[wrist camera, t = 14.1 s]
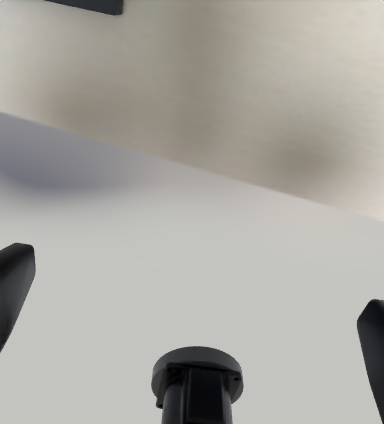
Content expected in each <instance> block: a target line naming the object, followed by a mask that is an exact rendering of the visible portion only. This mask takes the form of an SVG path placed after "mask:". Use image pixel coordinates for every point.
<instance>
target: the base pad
mask: <svg viewBox="0 0 384 424" xmlns="http://www.w3.org/2000/svg"><path fill="white" fill-rule="evenodd" d="M45 1H50V2H54V3H59V4H64V5H68V6H73V7H78V8H82V9H87V10H91V11H96V12H101V13H105V14H110V15H120V14H122V8H123V0H45Z"/></svg>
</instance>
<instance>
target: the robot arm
mask: <svg viewBox="0 0 384 424" xmlns="http://www.w3.org/2000/svg"><path fill="white" fill-rule="evenodd" d="M35 271H36V270H35V256H34V248H33V246H31V245H28V244H22V243H14V244H12V245H10V246H8V247H6V248H4V249H2V250H0V352H1V351H2V349H3V347H4V345H5V343H6V342H7V340H8V338H9V336H10V334H11V332H12V329H13V327H14V325H15V323H16V320H17V318H18V315H19V313H20V311H21V308H22V306H23V303H24V301H25V299H26V296H27V294H28V291H29V289H30V287H31V284H32V282H33V280H34V276H35ZM357 330H358V334H359V339H360V343H361V348H362V352H363V357H364V361H365V366H366V370H367V375H368V378H369V382H370V386H371V389H372V392H373V395H374V398H375V401H376V404H377V407H378V411H379V414H380V417H381V420H382V423H383V424H384V300H376V299H373V300H371V301H370V302H369V303H368V304H367V306H366V307H365V309H364V310H363V312H362V313H361V315H360V316H359V318H358V320H357ZM241 381H242V374H241V372H239V371H233V370H226V369H218V368H211V367H204V366H196V365H189V364H181V363H174V362H169V363H166V364H165V368H164V372H163V376H162V380H161V384H160V388H159V392H158V396H157V401H156V407H157V408H160V409H163V413H162V424H232V410H231V402H232V400H233V398H234V396H235V394H236V392H237V389H238V387H239V385H240V383H241Z"/></svg>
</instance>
